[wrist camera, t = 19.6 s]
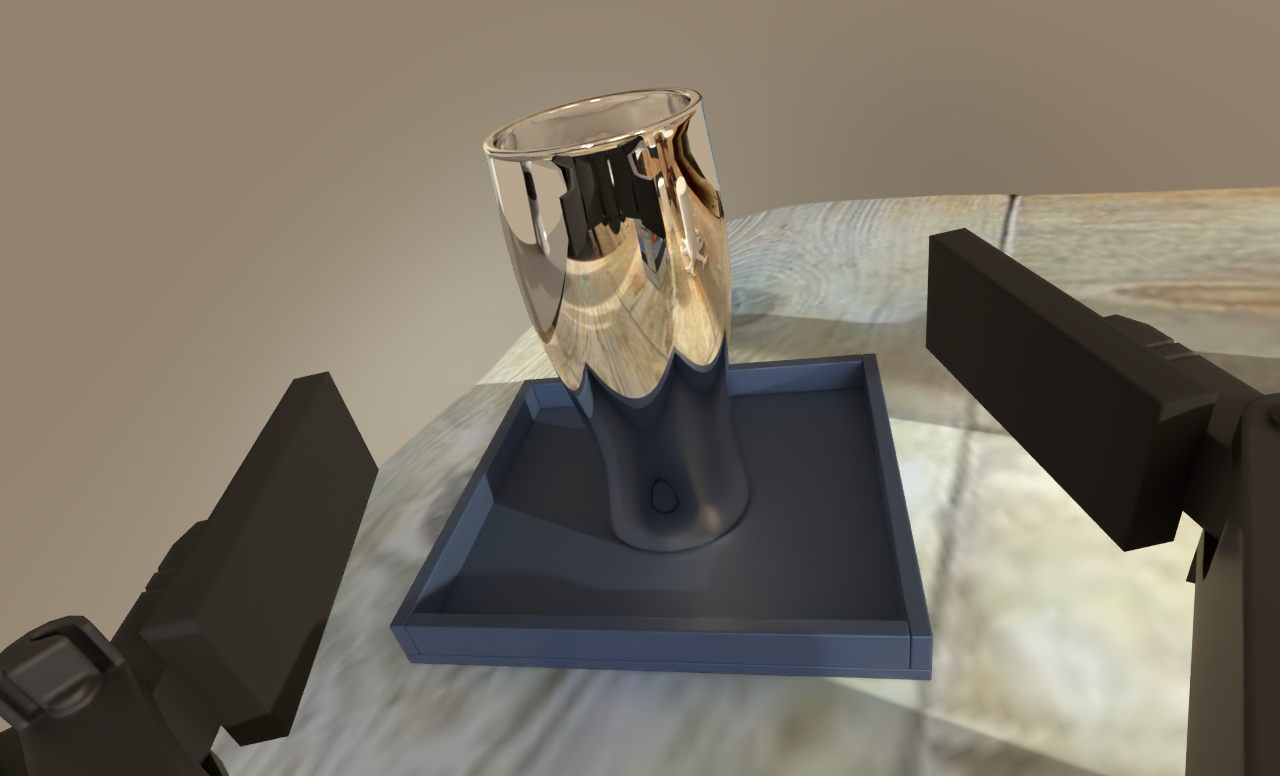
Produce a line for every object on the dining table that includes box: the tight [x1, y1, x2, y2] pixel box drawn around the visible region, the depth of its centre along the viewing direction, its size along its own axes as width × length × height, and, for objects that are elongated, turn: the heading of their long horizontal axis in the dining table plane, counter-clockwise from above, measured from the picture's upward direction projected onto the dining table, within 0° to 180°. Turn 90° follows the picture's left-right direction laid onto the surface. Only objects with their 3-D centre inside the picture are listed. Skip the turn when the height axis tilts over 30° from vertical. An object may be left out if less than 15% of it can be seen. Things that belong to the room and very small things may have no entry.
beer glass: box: [483, 88, 750, 552], centre depth 24 cm, size 7×7×15 cm
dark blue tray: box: [390, 354, 933, 680], centre depth 28 cm, size 17×15×2 cm
